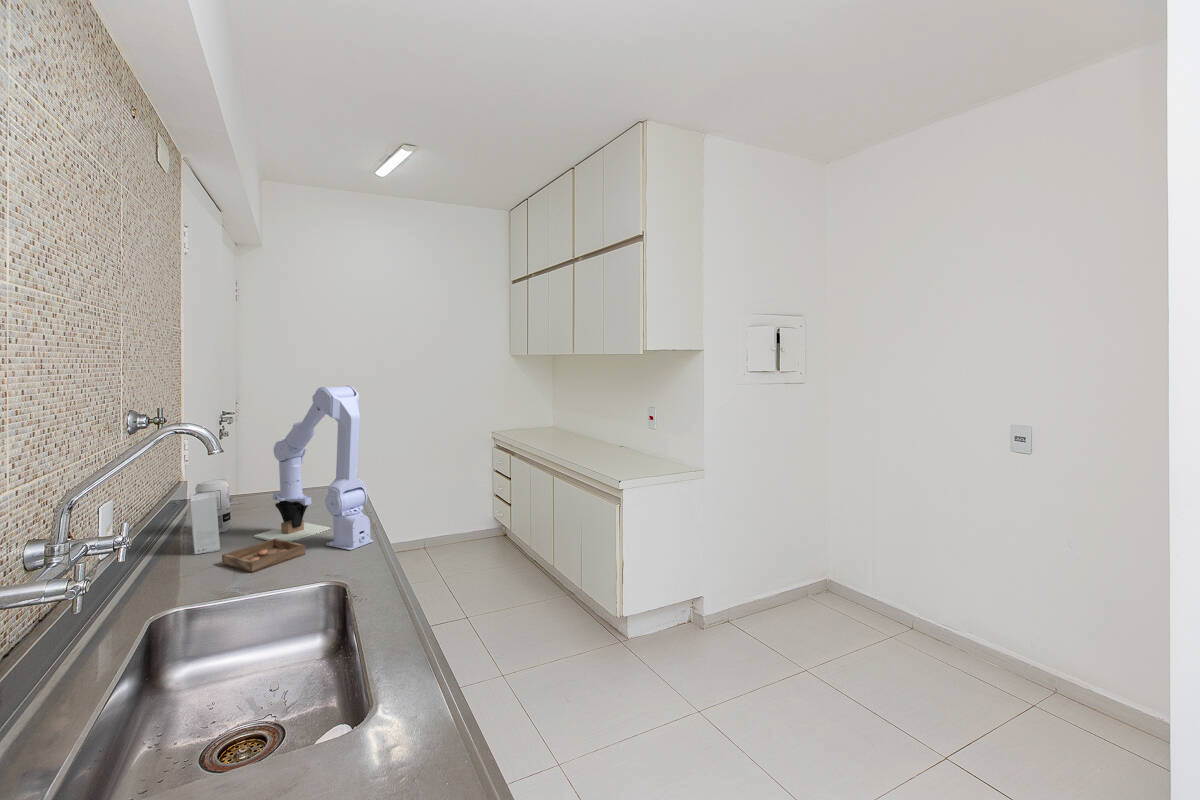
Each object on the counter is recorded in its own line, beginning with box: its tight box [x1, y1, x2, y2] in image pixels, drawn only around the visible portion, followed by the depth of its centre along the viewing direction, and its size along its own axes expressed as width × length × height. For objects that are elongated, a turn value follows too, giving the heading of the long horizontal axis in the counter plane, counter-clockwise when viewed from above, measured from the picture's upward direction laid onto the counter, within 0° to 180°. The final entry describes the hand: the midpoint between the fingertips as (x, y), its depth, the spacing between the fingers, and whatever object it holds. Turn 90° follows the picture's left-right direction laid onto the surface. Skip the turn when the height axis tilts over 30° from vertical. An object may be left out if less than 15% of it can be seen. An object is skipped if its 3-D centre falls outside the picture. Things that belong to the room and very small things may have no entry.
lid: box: [253, 519, 331, 542], centre depth 164 cm, size 13×15×4 cm
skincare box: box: [189, 492, 221, 555], centre depth 150 cm, size 8×6×15 cm
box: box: [221, 539, 306, 574], centre depth 143 cm, size 12×14×2 cm
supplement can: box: [194, 478, 232, 534], centre depth 165 cm, size 8×8×15 cm
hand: (292, 526), depth 164 cm, fingers closed on lid, 3 cm apart
